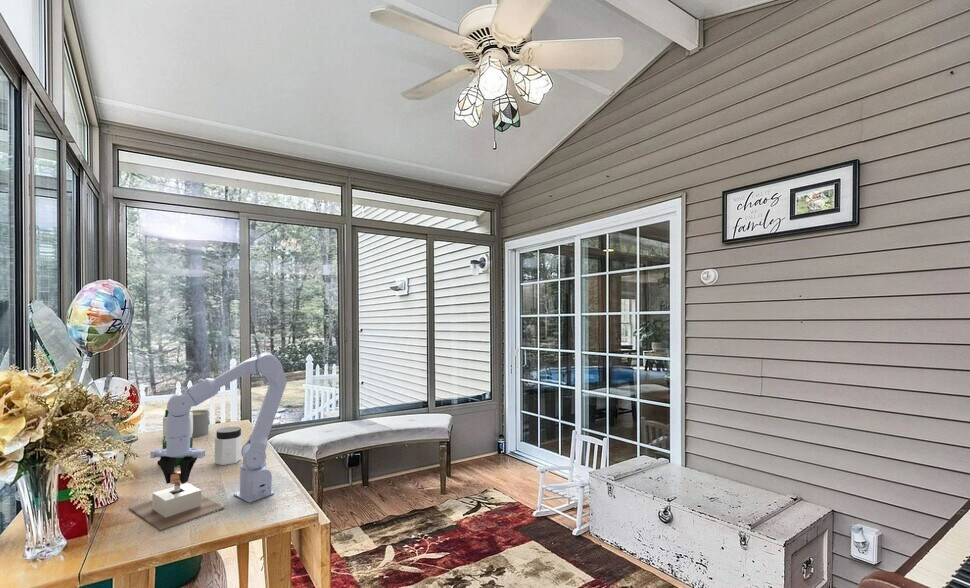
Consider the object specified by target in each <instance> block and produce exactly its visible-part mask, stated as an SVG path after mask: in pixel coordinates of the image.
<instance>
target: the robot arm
mask: <svg viewBox="0 0 970 588" xmlns="http://www.w3.org/2000/svg"><path fill="white" fill-rule="evenodd" d="M257 371H258V372H259V373H260V374H261V375H262V376H264V377H265V379H266V380H267V382H268V387H267V390H266V393H265V395H264V398H263V401H262V404H261V407H260V410H259V413H258V416H257V419H256V420H255V424H254V427H253V430H252V432H251V434H250V435H249V438H248V440H247V442H245V443H244V445H242V451H241V454H242V463H241V464H240V465H239V466H240V469H239V471H240V472H239V491H237V492H234V493H233V496H235V497H236V498H238V499H240V500H243V501H245V502H248V503H252V502H255V501H257V500H260V499H263V498H267V497H269V496H272V495H274V494H275V492H274V491H273V490H272V479H273V478H272V472H271V471H270V470H269V469H268V467H267V461H266V459H267V453H266V450H267V446H268V440H269V436H270V432H271V429H272V426H273V423H274V420H275V418H276V416H277V412H278V409H279V406H280V403H281V401H282V397H283V395H284V392H285V388H286V387H287V382H288V381H287V378H286V374H285V371H284V368H283V364H282V363H281V362H280V360H279V359H278V358H277V357H276V356H275V355H274V354H272V353H271V352H269V351H268V352H266V351H264V352H261V353H259V354H258V355H257V356H256V355H255V356H252V357H250V358H248V359H246V360H244V361H242V362H240V363H238V364H236V365H235V366H233V367H232V368H230V369H228V370H227V371H225V372H224V373H221V374H220V375H218V376H217V377H215V378H209V377H206V378H204V379H203V378H200V379H198V380H197V383H195V384H193V385H191V386H189V387H188V388H186V389H185V388H182V389H181V390H180V392H179V393H175V394H173V395H171V397H170V398H169V400H168V402H167V405H166V410H168V412H169V413H168V421H167V443H166V449H161V448H160V449H153V450H151V451H150V459H155V458H159V459H158V460H157V464H156V465H158V466H159V468H160V469H161V471H162V474H163V477H164V480H165V483H166V485H169V484H171V483H170V473H171V472H173V471H175V467H176V466H175V463H176V459H177V457H183V458H184V459H182V460H180V461H179V465H180V466H179V468H180V469H179V470H181V483H180V485H181V484H185V483H188V481H189V479H190V478H189V477H190V474H191V471H192V469H193V467H194V465H195V463H196V461H197V459H203V458H205V457H206V449H199V448H193V447H192V448H190V426H191V418H190V411H191V409H192V407H197V406H198V405H200V404H202V403H203V402H205V401H208V400H209V399H211V398H213V397H215V396H216V395H218V393H219V390H220V388H222V387H224V386H226V385H228V384H229V383H232V382H234V381H235V380H237V379H239V378H241V377H242V376H245V375H257Z"/></svg>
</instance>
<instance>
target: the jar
mask: <svg viewBox="0 0 970 588" xmlns="http://www.w3.org/2000/svg"><path fill="white" fill-rule="evenodd" d="M242 448H243V434H242V427H240V426H226V427H221V428H219V429H217V430H216V437H215V438H214V461H213V462H214V464H216V465H220V466H226V465H227V464H228V465H233V464H236V463H238V462H239V461H241V460H243V457H242V454H241V451H242Z"/></svg>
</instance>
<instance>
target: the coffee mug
mask: <svg viewBox="0 0 970 588" xmlns="http://www.w3.org/2000/svg"><path fill="white" fill-rule="evenodd" d="M190 412H193V438H199V437H203V436H206V435H208V434H209V423H210V419H209V418H210V410H208V409H194V410H190Z"/></svg>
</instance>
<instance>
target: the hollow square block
mask: <svg viewBox="0 0 970 588" xmlns="http://www.w3.org/2000/svg"><path fill="white" fill-rule="evenodd" d="M201 495H202V489H201V488H199V487H197V486H194V485H192V484H190V483H189V482H186V483H184V484H181V483H180V493H177V494H174V486H171V487H168V488H164V489H161V490H158V491H155V492H152V499H151V501H152V509H153V510H155V511H156V512H158V513H159V514H161V515H162V516H164V517H165V518H166V517H169V516H172V515H175V514H178V513H181V512H184V511H187V510H190V509H193V508H196V507H199V506H201Z"/></svg>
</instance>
